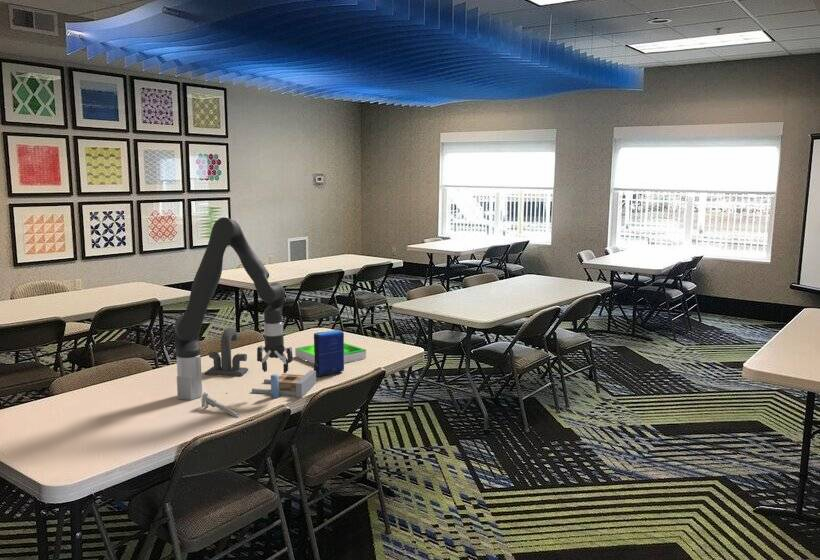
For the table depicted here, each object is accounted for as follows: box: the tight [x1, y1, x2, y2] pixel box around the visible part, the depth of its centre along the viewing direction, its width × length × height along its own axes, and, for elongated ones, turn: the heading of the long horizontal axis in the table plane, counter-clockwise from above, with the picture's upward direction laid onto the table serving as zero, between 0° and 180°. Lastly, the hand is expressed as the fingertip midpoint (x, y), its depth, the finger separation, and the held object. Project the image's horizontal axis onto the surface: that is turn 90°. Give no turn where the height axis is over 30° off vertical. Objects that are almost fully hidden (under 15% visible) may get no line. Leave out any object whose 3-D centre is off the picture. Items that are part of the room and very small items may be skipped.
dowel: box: [270, 373, 280, 399], centre depth 261 cm, size 3×3×9 cm
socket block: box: [279, 373, 305, 391], centre depth 271 cm, size 11×11×4 cm
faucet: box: [204, 327, 249, 377], centre depth 296 cm, size 18×16×20 cm
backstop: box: [251, 369, 317, 399], centre depth 271 cm, size 18×22×6 cm
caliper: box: [201, 392, 241, 418], centre depth 244 cm, size 20×1×6 cm, turn 58°
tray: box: [294, 342, 367, 364], centre depth 319 cm, size 25×25×5 cm
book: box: [313, 329, 345, 377], centre depth 291 cm, size 14×5×20 cm, turn 126°
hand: (275, 371), depth 261 cm, fingers open, 8 cm apart
